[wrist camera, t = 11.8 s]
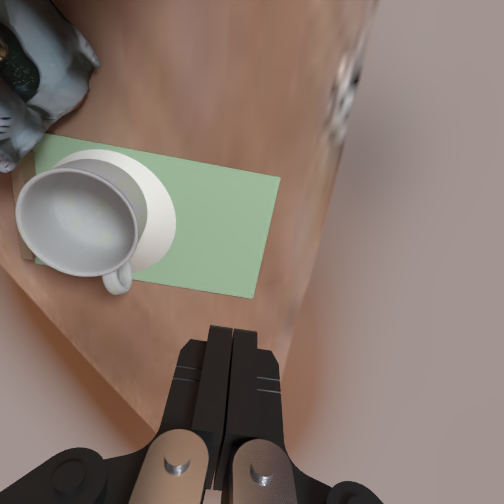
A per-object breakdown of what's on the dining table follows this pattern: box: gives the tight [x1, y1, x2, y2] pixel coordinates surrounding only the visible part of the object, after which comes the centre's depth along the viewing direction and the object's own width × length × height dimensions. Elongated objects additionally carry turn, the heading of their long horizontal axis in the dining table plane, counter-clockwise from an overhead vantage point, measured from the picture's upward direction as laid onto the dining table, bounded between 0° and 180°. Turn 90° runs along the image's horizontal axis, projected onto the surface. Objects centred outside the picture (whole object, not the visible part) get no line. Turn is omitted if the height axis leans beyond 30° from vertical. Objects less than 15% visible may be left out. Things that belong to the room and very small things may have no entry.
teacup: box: [15, 159, 147, 295], centre depth 36 cm, size 14×11×8 cm
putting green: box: [10, 133, 280, 299], centre depth 40 cm, size 16×27×2 cm, turn 79°
